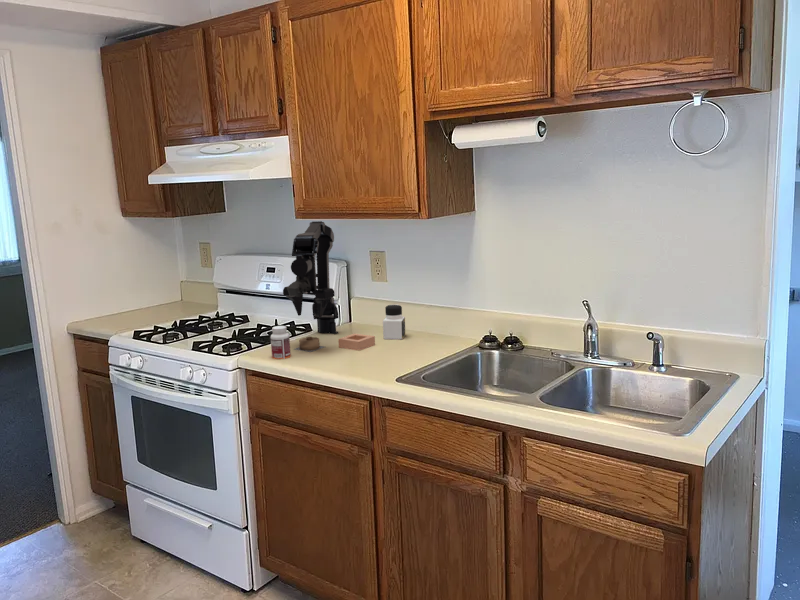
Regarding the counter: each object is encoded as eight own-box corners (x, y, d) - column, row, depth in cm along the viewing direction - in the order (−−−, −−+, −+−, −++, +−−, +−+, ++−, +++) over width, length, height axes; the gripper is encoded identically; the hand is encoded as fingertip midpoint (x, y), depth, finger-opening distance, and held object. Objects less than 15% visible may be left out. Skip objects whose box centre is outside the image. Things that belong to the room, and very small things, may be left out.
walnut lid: (295, 349, 243) (294, 338, 242) (308, 344, 249) (308, 334, 248) (310, 351, 239) (309, 340, 238) (323, 346, 245) (323, 336, 244)
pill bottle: (287, 355, 238) (285, 324, 236) (293, 360, 233) (291, 327, 231) (269, 358, 235) (267, 326, 233) (275, 363, 230) (273, 330, 228)
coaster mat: (293, 352, 243) (293, 349, 243) (308, 346, 249) (308, 344, 249) (310, 354, 239) (310, 352, 238) (326, 349, 245) (326, 346, 245)
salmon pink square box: (338, 350, 244) (338, 338, 243) (354, 344, 251) (354, 333, 250) (359, 353, 239) (358, 341, 238) (375, 347, 246) (374, 336, 245)
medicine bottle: (402, 339, 256) (401, 307, 254) (383, 339, 257) (382, 307, 255) (405, 334, 263) (404, 303, 260) (386, 334, 264) (385, 303, 262)
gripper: (270, 273, 237) (273, 318, 240) (313, 276, 227) (315, 323, 230) (292, 269, 247) (295, 312, 249) (334, 271, 236) (336, 317, 239)
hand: (309, 316), depth 242 cm, fingers open, 9 cm apart
